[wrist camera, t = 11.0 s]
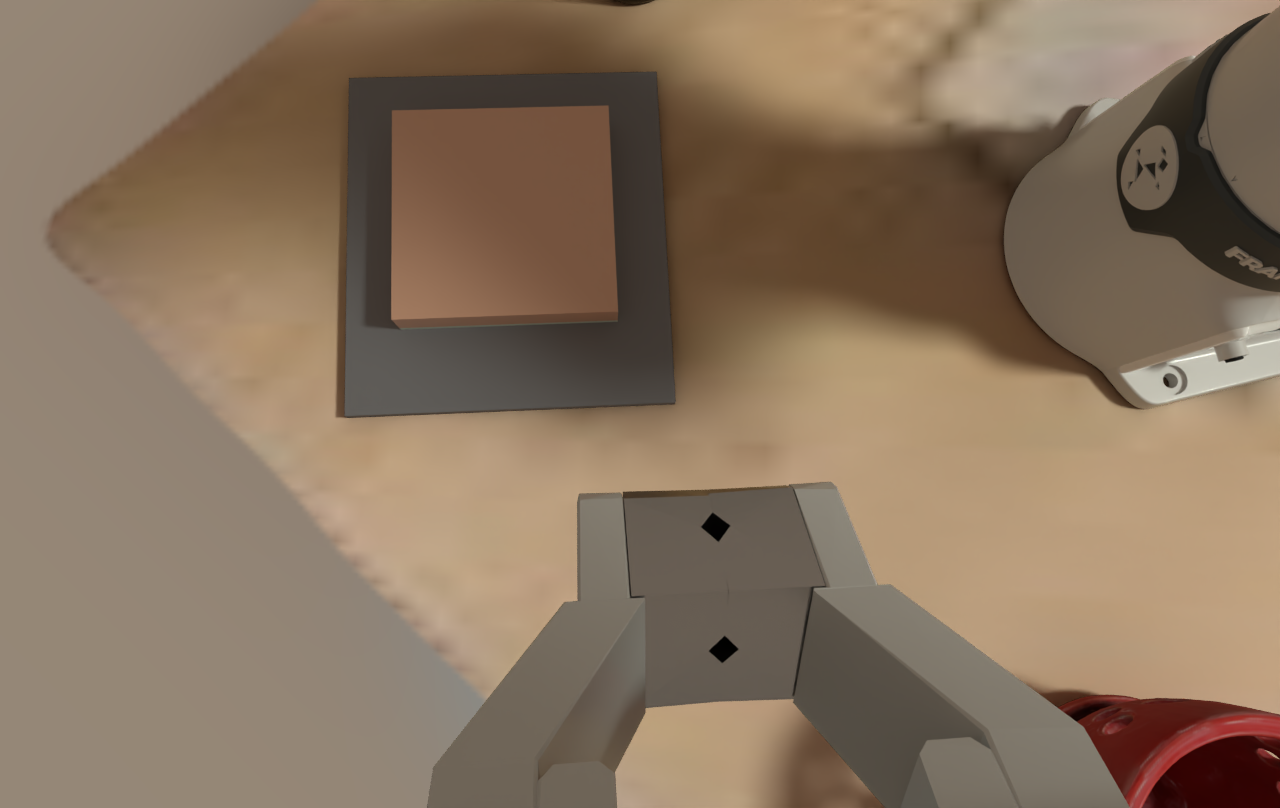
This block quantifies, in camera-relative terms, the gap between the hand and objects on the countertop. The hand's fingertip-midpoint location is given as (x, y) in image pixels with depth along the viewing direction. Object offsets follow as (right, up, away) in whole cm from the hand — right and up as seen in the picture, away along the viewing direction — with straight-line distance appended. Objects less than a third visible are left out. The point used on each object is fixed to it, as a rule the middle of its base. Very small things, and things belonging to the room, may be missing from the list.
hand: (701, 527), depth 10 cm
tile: (-8, +6, +34) cm, 35 cm away
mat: (-8, +11, +36) cm, 39 cm away
